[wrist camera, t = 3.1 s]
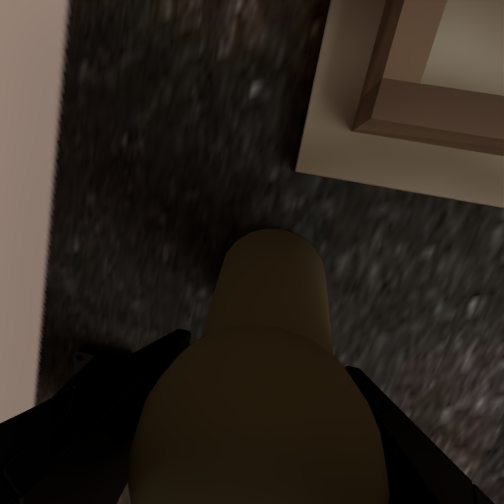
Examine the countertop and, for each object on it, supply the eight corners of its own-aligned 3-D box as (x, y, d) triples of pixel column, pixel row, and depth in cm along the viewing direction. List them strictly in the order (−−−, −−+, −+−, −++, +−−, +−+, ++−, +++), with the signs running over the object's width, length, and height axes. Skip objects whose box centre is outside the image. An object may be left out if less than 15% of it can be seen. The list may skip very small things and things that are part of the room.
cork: (213, 233, 14) (2, 405, 3) (323, 222, 13) (495, 410, 3) (228, 327, 16) (119, 635, 5) (327, 323, 15) (441, 685, 4)
